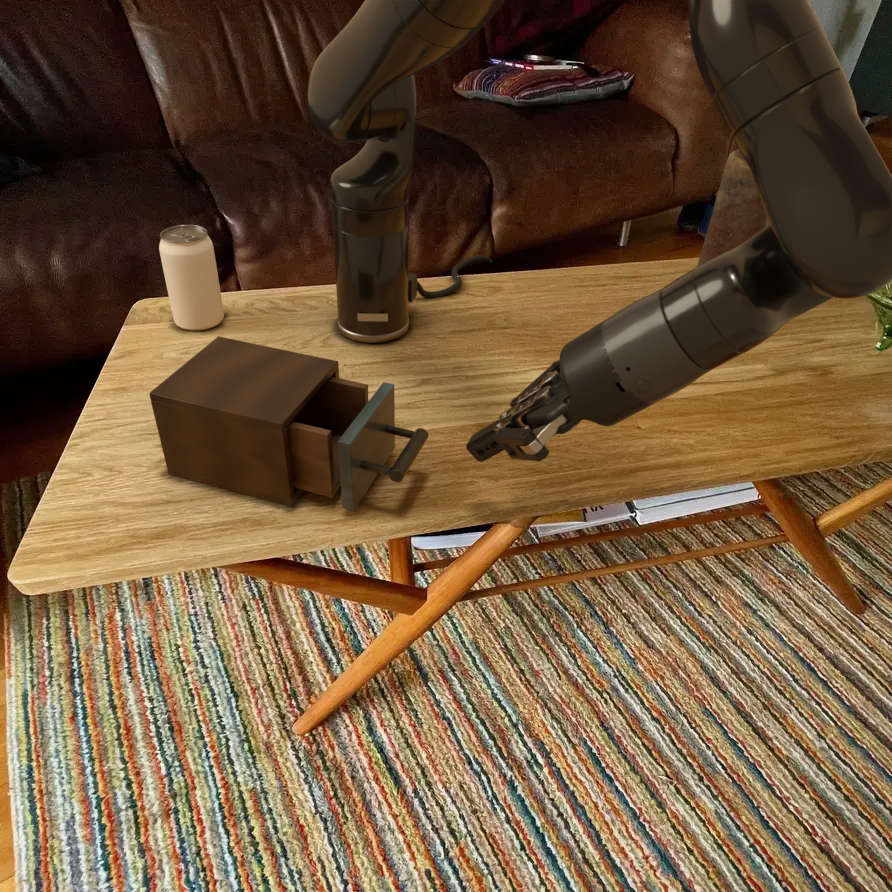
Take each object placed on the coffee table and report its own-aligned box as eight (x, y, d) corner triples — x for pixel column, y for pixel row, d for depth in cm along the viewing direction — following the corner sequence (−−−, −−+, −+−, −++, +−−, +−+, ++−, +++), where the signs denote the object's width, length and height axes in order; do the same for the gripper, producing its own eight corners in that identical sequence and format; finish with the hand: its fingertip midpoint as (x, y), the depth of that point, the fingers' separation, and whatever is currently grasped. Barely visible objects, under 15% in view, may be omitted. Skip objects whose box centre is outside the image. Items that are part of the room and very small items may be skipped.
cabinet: (343, 438, 81) (338, 360, 75) (291, 506, 72) (281, 424, 66) (230, 412, 84) (218, 335, 78) (168, 474, 75) (148, 393, 69)
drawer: (433, 456, 77) (435, 392, 73) (395, 522, 69) (395, 454, 65) (286, 422, 81) (279, 359, 77) (235, 480, 73) (223, 414, 69)
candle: (752, 292, 113) (793, 154, 101) (731, 308, 109) (772, 166, 97) (704, 277, 117) (738, 142, 105) (682, 292, 113) (716, 153, 100)
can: (204, 304, 104) (190, 219, 97) (234, 319, 101) (221, 232, 94) (164, 321, 100) (145, 233, 93) (194, 337, 97) (176, 247, 90)
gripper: (619, 286, 62) (469, 383, 73) (591, 363, 52) (421, 463, 63) (671, 354, 64) (517, 439, 75) (654, 441, 54) (479, 526, 64)
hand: (474, 450), depth 69 cm, fingers closed
